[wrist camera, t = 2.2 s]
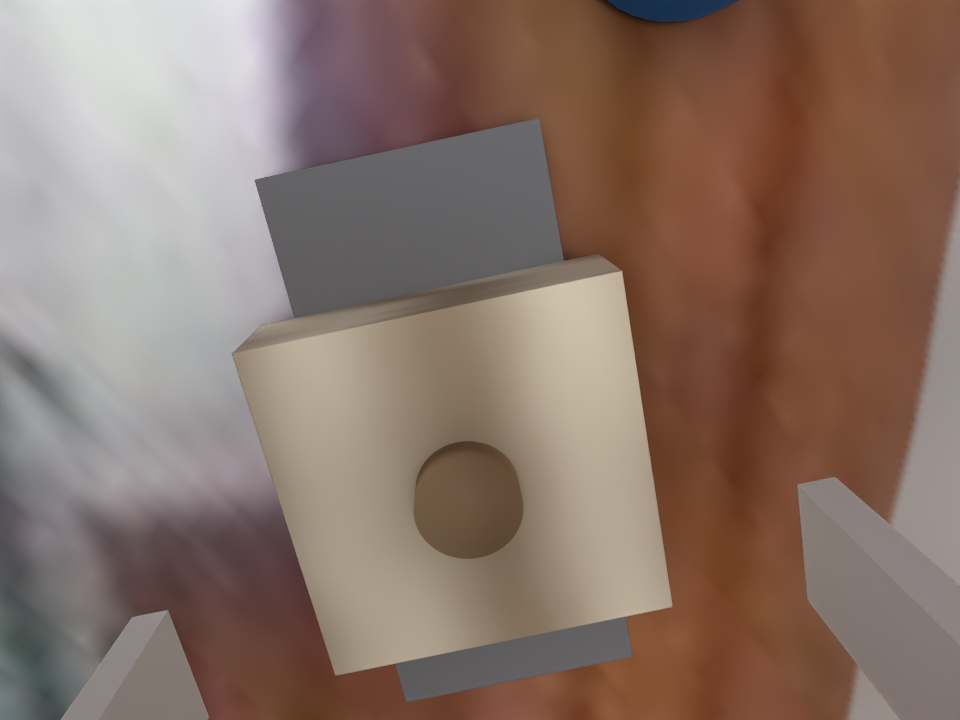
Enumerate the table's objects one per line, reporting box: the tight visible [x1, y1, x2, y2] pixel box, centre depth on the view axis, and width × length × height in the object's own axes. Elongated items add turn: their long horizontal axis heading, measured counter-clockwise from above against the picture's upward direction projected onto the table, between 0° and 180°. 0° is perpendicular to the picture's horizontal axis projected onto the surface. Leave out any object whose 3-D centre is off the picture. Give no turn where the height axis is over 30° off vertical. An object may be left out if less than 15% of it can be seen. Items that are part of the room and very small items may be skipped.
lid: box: [232, 254, 672, 676], centre depth 20 cm, size 10×10×4 cm
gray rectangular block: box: [255, 118, 633, 702], centre depth 24 cm, size 8×18×2 cm, turn 12°
